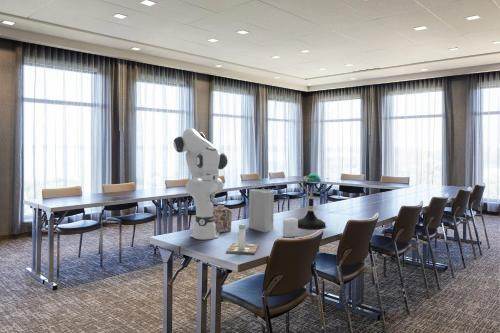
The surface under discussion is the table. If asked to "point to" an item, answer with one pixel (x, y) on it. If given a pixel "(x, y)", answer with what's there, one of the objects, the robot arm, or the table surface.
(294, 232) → the photo printer
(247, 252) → the picture board
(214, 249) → the table surface
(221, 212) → the decorative jar
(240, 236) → the marker
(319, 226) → the banker's lamp
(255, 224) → the paper bag
